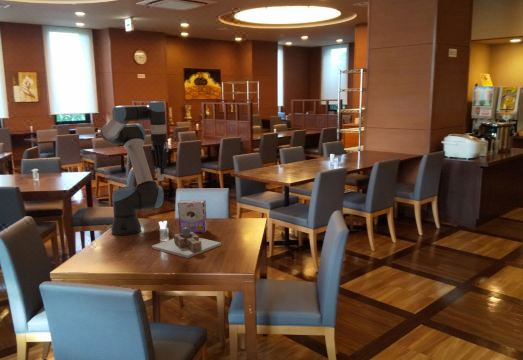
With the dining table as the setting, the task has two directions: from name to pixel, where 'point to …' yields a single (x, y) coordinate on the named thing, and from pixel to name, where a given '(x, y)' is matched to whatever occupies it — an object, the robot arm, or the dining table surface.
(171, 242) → the post board
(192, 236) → the wooden frame with handle
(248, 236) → the dining table surface
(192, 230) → the candy box
